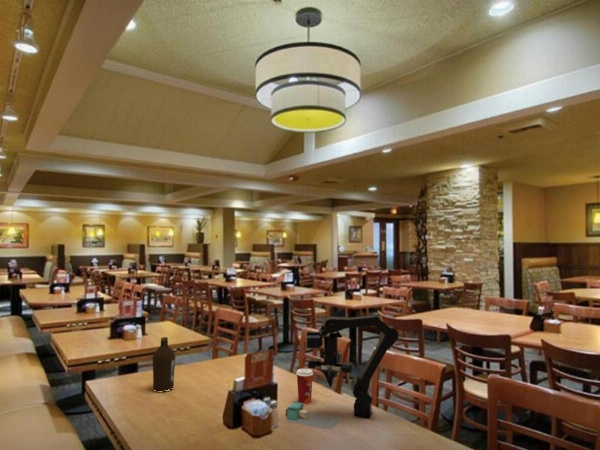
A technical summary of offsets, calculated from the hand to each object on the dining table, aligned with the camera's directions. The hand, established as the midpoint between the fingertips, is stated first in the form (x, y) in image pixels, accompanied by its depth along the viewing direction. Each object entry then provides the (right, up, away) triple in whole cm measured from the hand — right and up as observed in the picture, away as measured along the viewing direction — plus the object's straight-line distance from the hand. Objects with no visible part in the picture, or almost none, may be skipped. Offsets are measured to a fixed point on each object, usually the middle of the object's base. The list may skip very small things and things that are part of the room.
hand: (330, 386), depth 173 cm
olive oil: (-80, -14, +32) cm, 87 cm away
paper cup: (-11, -13, +15) cm, 22 cm away
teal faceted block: (-15, -12, -2) cm, 19 cm away
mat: (-7, -12, -5) cm, 15 cm away
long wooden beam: (-14, -12, -2) cm, 18 cm away
